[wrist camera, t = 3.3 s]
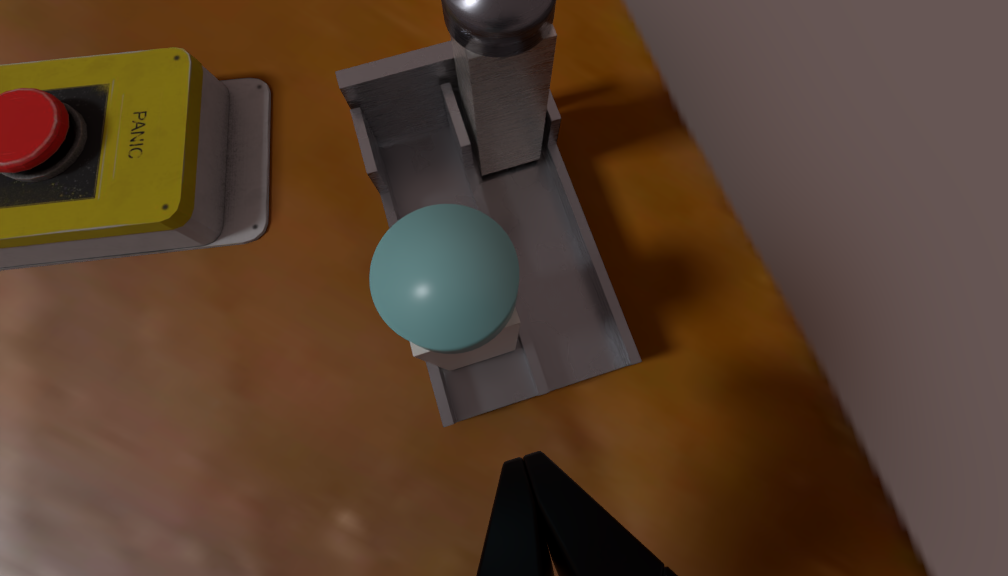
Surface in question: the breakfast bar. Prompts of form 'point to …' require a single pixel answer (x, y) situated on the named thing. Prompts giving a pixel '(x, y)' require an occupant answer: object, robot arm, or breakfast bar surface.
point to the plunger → (448, 285)
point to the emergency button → (129, 158)
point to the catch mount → (495, 190)
